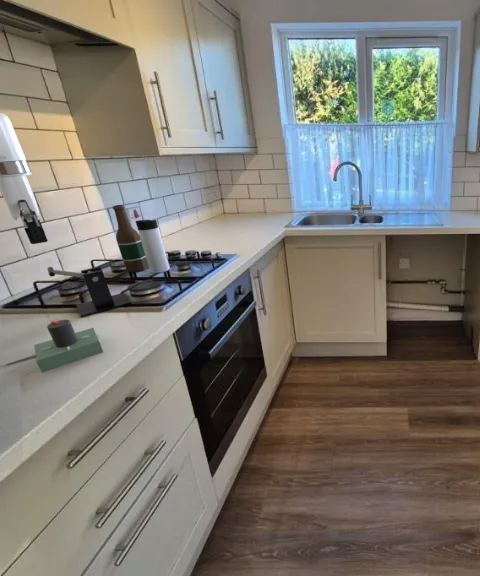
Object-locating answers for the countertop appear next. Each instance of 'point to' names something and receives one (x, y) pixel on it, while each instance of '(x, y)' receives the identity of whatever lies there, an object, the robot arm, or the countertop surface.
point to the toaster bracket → (99, 294)
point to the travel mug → (153, 246)
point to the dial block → (67, 350)
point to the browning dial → (62, 333)
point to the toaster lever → (64, 273)
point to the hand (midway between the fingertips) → (38, 239)
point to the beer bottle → (129, 242)
